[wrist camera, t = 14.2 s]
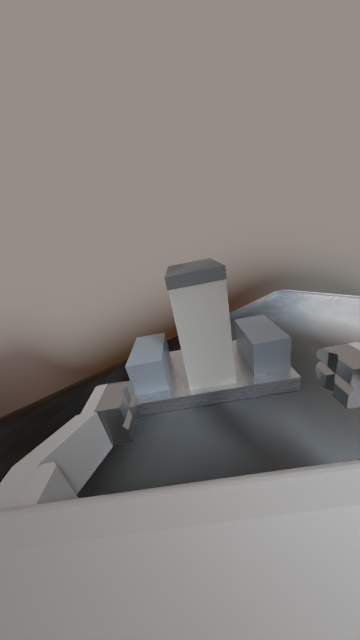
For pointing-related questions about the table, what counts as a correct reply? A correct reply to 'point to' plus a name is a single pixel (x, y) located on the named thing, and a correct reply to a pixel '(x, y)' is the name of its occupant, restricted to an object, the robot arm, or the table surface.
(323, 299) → the table surface
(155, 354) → the mounted modules
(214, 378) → the block
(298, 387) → the grey flat base plate
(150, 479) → the table surface
